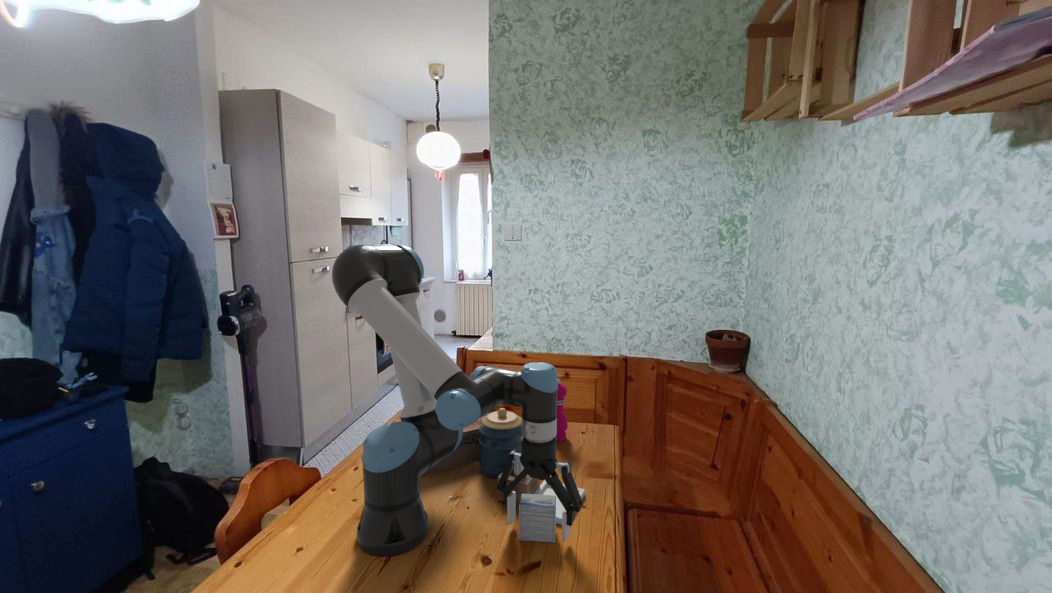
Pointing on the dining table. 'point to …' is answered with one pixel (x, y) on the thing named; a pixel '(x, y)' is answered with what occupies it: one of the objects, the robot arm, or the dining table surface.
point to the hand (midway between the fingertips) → (537, 529)
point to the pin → (518, 469)
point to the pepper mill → (561, 413)
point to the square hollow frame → (520, 486)
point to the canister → (498, 440)
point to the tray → (547, 490)
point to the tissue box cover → (462, 449)
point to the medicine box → (537, 518)
